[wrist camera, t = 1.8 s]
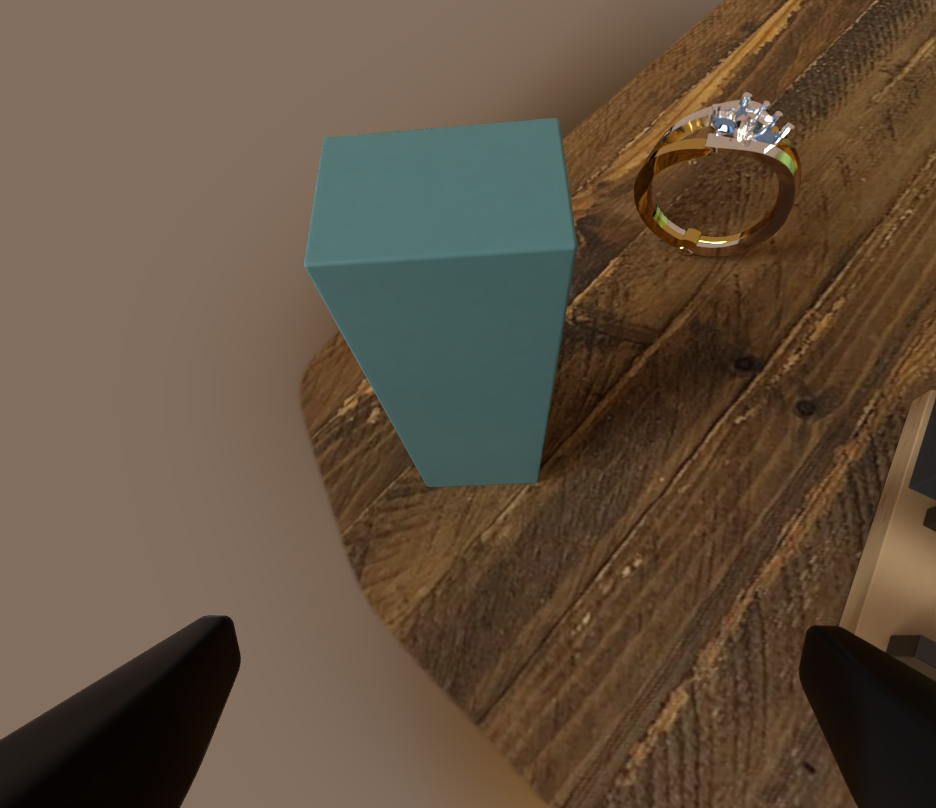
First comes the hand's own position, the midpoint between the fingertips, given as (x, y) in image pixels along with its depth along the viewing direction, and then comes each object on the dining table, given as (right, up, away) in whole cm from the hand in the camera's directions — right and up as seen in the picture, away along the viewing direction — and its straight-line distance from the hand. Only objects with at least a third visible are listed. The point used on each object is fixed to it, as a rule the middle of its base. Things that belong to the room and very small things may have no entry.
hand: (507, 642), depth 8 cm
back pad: (0, +2, +15) cm, 15 cm away
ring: (+11, +12, +19) cm, 26 cm away
